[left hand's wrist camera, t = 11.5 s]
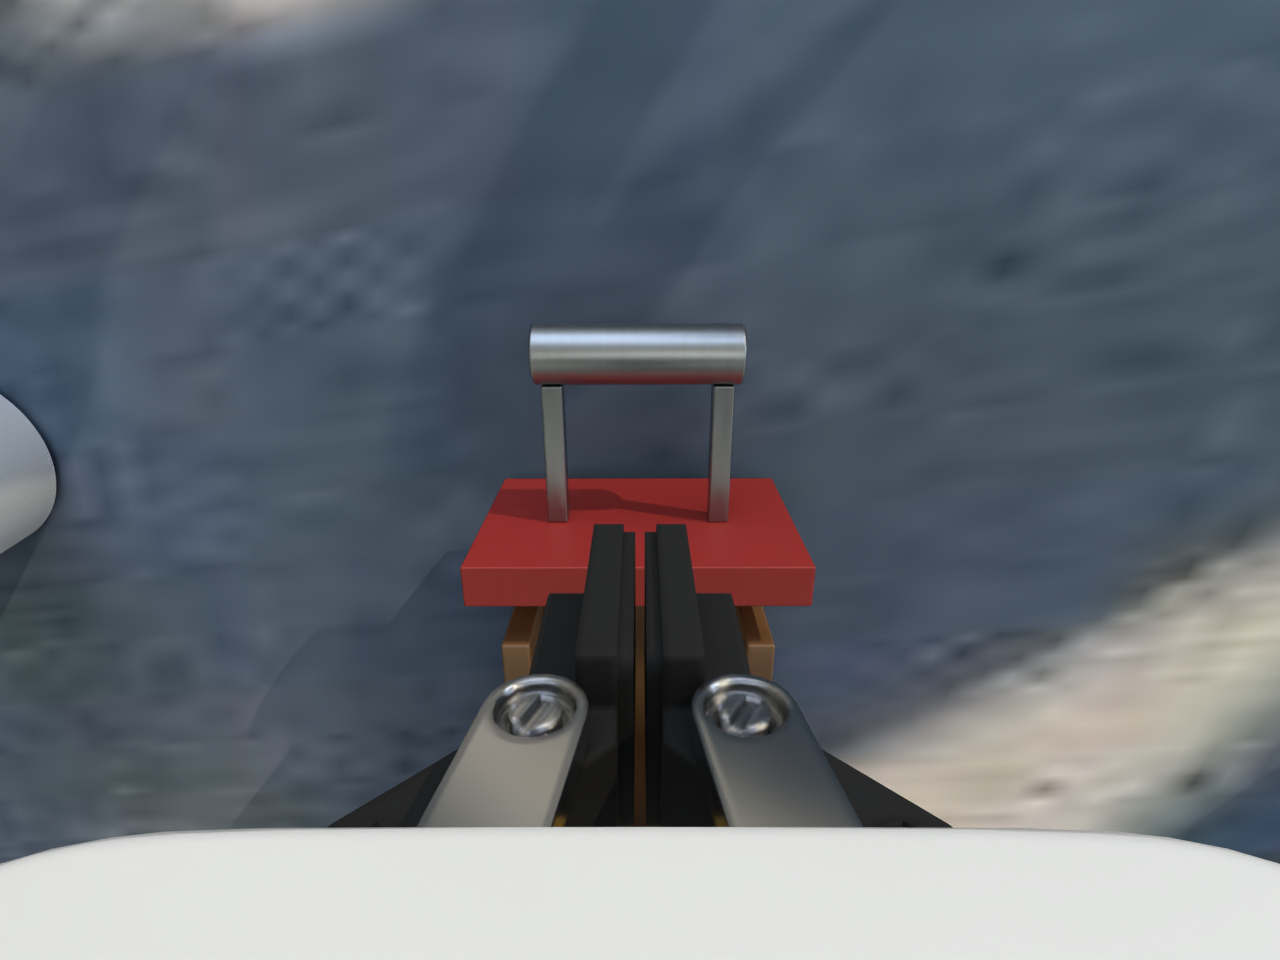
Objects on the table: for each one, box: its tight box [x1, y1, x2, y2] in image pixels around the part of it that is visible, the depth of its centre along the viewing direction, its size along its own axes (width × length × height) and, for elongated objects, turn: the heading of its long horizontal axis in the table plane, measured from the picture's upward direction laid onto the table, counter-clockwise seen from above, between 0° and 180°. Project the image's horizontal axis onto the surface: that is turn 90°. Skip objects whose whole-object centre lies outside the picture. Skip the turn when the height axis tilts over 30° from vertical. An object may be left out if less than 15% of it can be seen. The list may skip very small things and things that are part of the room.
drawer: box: [460, 323, 816, 827], centre depth 23 cm, size 23×9×6 cm, turn 0°
